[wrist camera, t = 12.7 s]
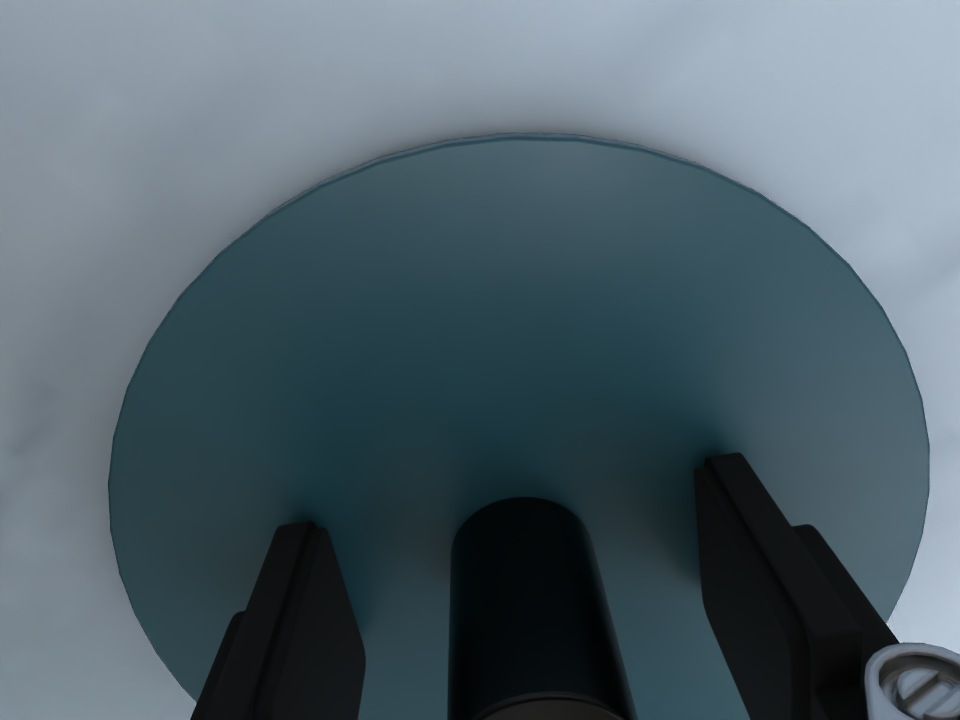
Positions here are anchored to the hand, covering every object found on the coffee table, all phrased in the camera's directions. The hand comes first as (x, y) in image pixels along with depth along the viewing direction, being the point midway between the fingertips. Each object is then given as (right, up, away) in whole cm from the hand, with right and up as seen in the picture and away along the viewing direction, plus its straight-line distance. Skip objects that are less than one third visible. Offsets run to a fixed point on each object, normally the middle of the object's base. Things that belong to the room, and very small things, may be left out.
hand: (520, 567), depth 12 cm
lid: (0, 0, +1) cm, 1 cm away
